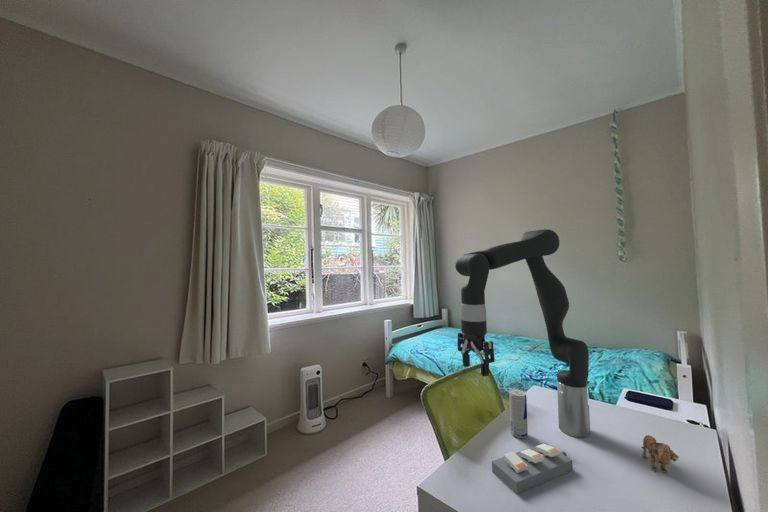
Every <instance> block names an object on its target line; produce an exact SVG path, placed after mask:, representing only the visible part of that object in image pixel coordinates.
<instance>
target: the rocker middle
mask: <svg viewBox="0 0 768 512" xmlns="http://www.w3.org/2000/svg"><path fill="white" fill-rule="evenodd" d="M525 449H526V450H525ZM525 449H523V450H524V451H522V450H520V451H521V452H520V455H521V457H523V458H525V459H527V460H528V462H531V461H532V462H534V463H537V462H540V461H543V460H544V456H543V455H542V454H540V453H537V452H535V451H533V450H531V449H528V448H525Z"/></svg>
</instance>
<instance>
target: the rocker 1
mask: <svg viewBox="0 0 768 512" xmlns="http://www.w3.org/2000/svg"><path fill="white" fill-rule="evenodd" d="M516 453H517V452H515V451H514V450H512V451H509V452H507V453H504V454H503V458H504V459H505V460H506V461H507V462H508V463H509V464H510V467H511V468H513V469H514V470H515V471H516V472H517V473H519V472H522V471H525V470H527V467H528V466H527V465H526V464H525V463H524V461H523V460H522V459H521V458H520V457H519V456H518V455H517V454H516Z"/></svg>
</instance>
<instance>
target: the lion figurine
mask: <svg viewBox="0 0 768 512" xmlns="http://www.w3.org/2000/svg"><path fill="white" fill-rule="evenodd" d="M641 449H642V450H643V452H642V454H641V457H642V458H643V459H647V458H648V456H647V452H648V453H649V459H650V464H651V465H650V466H651V468H650V470H651V471H652V472H658V471H657V470H658V469H657V465H656V462H657V463H658V464H659V465H660V470H661V471H662V472H663V473H665V474H667V473H668V470H667V469H666V468H665V467H666V466H667V465H668V464H671V463H672V461H673V462H674V463H675V462H677V460H678V459H679V458H680V456H679V455H677V454H676V453H675V452H674V451H673V450H672V449H671V446H670V445H669V444H667V443H666V444H665V443H662V442H657V440H656V438H655V437H654V436H652V435H649V434H648V435H645V436H644V437H643V439H642V446H641Z"/></svg>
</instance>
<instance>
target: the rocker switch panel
mask: <svg viewBox="0 0 768 512" xmlns="http://www.w3.org/2000/svg"><path fill="white" fill-rule="evenodd" d="M541 444H547V445H549V444H548V443H546V442H542V443H540V444H537V445H534V446H532V447H529V448H525V449H522V450H519V451H517V452H515V453H516V454H517V455H518V456H519V457H520V458H521V459H522V460H523V461H524V463H525V464H526V465H527V466H528V467H527V470H525V471H522V472H519V473H517V472H516V471H515V470H514V469H513V468H511V467H510V464H509V463H508V462H507V461H506V460H505V459H504V458H503V457H504V456H503V457H499V458H497V459H493V460H492V461H491V472H492V473H493V474H494V475H495V476H496V477H498V478H499V479H500V481H502V482H503V483H504V484H505V485H506V486H508V487H509V489H510V490H512V491H513V492H514V493H515V494H516V495H517V494H519V493H522V492H524V491H527V490H530V489H532V488H534V487H536V486H539V485H541V484H544V483H546V482H548V481H551V480H554V479H555V478H558V477H560V476H563V475H564V474H565V475H566V474H568V473H569V472H572V471H573V470H574V468H573V459H572V458H570V457H569V456H568V455H567V453H566V452H565V451H563V452H560V454H559V455H556V456H553V457H550V456H544V455H543V453H541V452H538V451H536V446H538V445H541ZM526 449H531V450H533V451H535V452H537V453H540V454H542V455H543V456H544V460H543V461H540V462H537V463H534V462H532V461H531V462H528V460H527V459H525V458H523V457H521V455H520V452H521V451H524V450H526Z"/></svg>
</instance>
